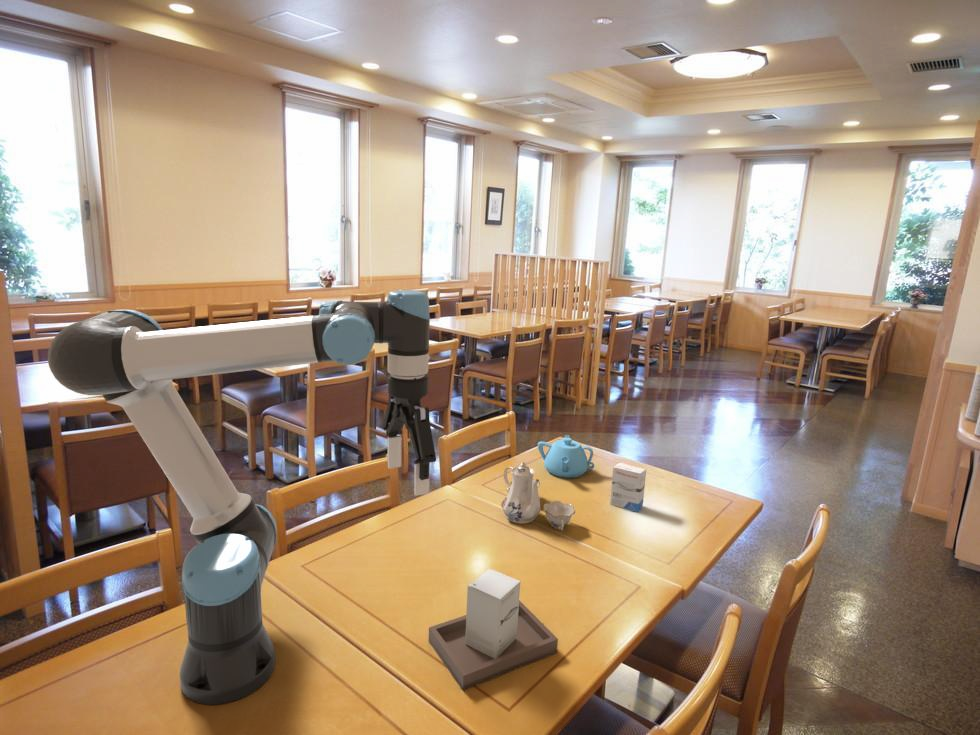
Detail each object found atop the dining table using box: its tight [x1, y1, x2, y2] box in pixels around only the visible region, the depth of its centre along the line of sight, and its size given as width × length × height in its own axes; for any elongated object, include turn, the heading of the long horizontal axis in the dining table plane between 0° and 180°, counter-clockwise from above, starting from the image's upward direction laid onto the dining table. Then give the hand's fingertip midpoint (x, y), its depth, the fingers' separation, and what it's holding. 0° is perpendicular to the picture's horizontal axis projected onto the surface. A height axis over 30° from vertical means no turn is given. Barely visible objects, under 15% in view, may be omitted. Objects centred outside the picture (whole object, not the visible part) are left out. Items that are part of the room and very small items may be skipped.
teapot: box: [537, 434, 595, 479], centre depth 193 cm, size 15×17×11 cm
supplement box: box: [465, 568, 521, 659], centre depth 110 cm, size 7×7×13 cm
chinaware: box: [500, 461, 576, 531], centre depth 163 cm, size 28×17×17 cm, turn 34°
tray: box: [428, 599, 559, 691], centre depth 111 cm, size 20×14×3 cm
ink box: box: [609, 462, 647, 513], centre depth 170 cm, size 8×5×12 cm, turn 58°
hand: (407, 479), depth 115 cm, fingers open, 13 cm apart
